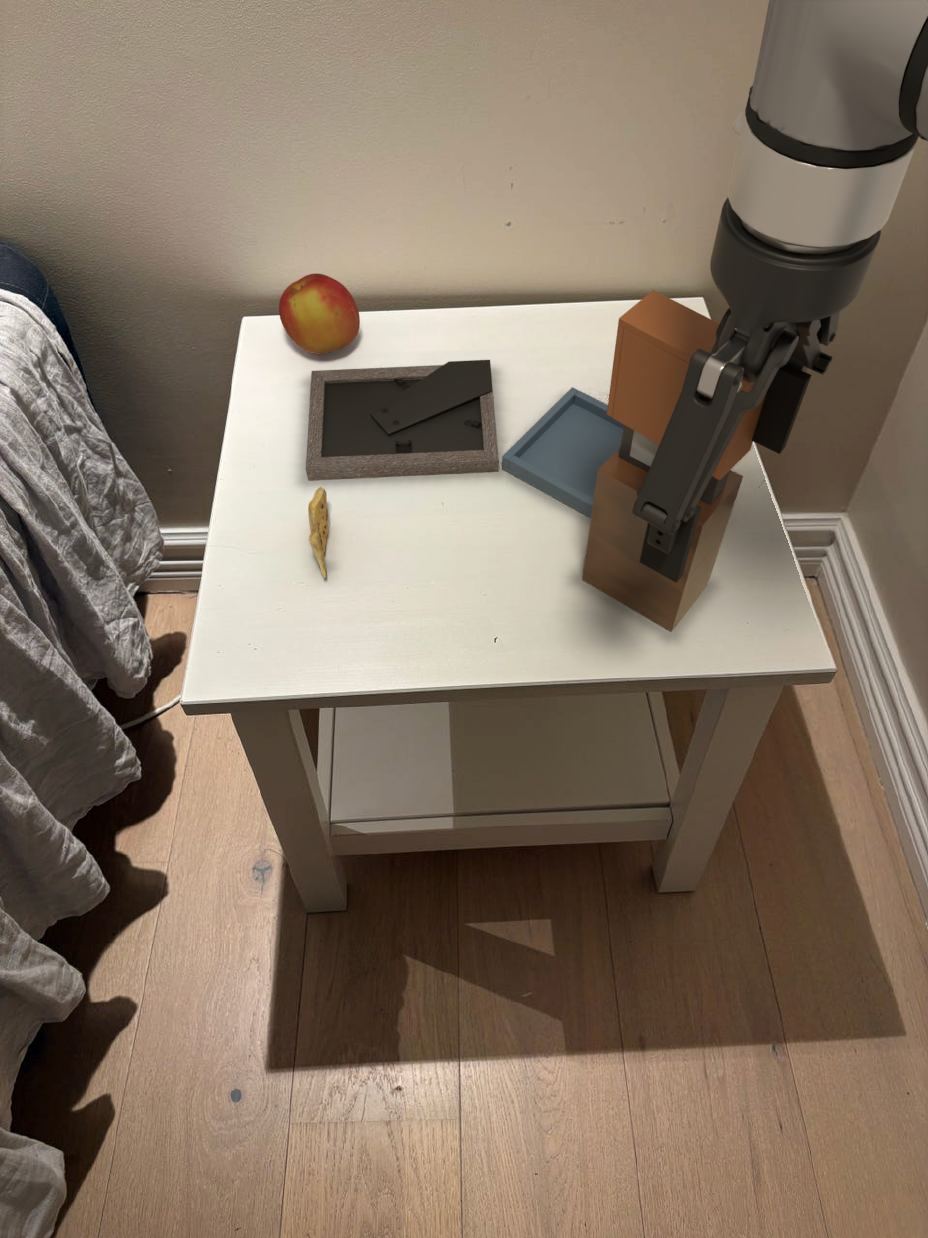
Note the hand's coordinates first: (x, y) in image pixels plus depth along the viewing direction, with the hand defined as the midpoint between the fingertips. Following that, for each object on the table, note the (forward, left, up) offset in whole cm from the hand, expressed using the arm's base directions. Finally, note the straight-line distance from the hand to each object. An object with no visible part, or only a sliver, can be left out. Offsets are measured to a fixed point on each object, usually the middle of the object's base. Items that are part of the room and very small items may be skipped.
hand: (714, 503), depth 64 cm
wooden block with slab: (+6, -5, -19) cm, 21 cm away
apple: (+49, -11, -20) cm, 54 cm away
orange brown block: (+6, -5, -1) cm, 8 cm away
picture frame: (+35, -7, -20) cm, 40 cm away
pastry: (+31, +9, -20) cm, 37 cm away
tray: (+17, -14, -19) cm, 29 cm away
